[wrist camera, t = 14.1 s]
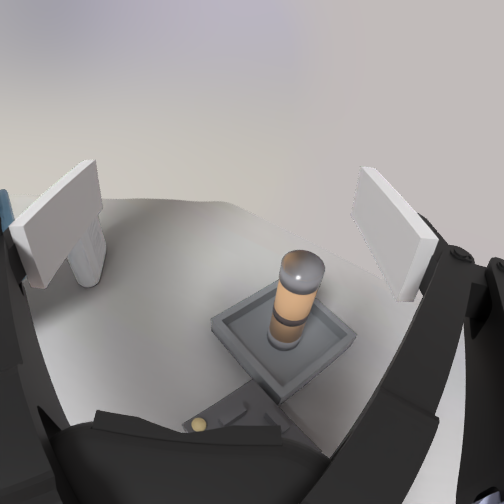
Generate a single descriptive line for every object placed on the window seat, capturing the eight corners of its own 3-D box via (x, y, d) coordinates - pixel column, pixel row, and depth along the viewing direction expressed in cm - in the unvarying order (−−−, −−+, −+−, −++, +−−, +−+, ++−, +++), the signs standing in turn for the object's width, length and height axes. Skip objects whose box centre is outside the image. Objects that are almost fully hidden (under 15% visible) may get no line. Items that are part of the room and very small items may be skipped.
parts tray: (211, 330, 44) (210, 318, 42) (285, 286, 51) (288, 273, 49) (277, 406, 36) (281, 398, 34) (350, 345, 43) (357, 334, 41)
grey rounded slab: (88, 245, 54) (70, 189, 45) (109, 244, 54) (94, 187, 46) (76, 289, 47) (51, 231, 38) (100, 288, 47) (78, 228, 39)
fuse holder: (184, 430, 33) (179, 419, 30) (251, 387, 38) (254, 372, 35) (248, 506, 27) (251, 507, 23) (315, 455, 32) (326, 448, 28)
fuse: (259, 333, 43) (272, 261, 33) (284, 317, 45) (303, 244, 35) (282, 357, 40) (303, 289, 31) (307, 339, 43) (333, 269, 33)
